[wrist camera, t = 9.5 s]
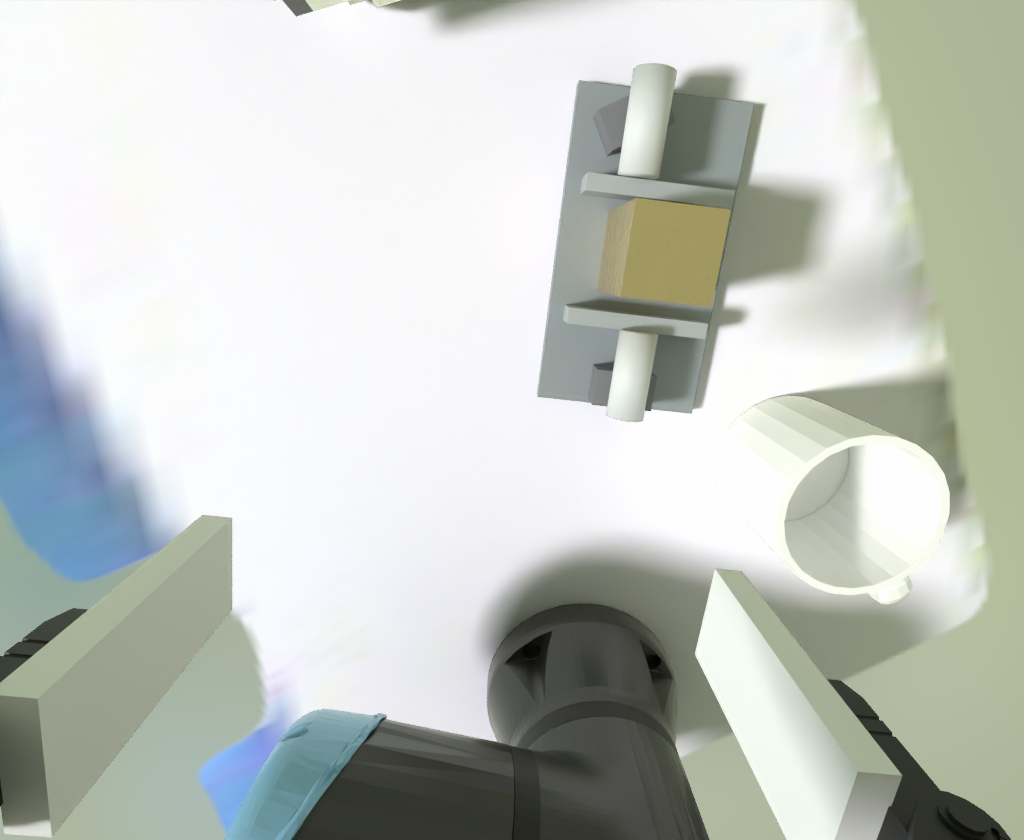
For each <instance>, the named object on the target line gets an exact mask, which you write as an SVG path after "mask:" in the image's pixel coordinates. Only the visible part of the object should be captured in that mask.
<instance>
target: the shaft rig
mask: <svg viewBox="0 0 1024 840" xmlns="http://www.w3.org/2000/svg"><path fill="white" fill-rule="evenodd" d="M676 74H677V71H676V69H675V68H673V67H671V66H668V65H664V64H656V63H648V64H641V65H638V66H636V67H635V68H634V69H633V76H632V83H631V87H625V86H618V85H610V84H603V83H595V82H588V81H580V80H579V82H578V84H577V90H576V98H575V105H574V113H573V121H572V129H571V136H570V144H569V152H568V159H567V167H566V175H565V183H564V190H563V198H562V206H561V214H560V221H559V229H558V237H557V245H556V252H555V260H554V268H553V276H552V283H551V291H550V299H549V307H548V314H547V322H546V330H545V337H544V345H543V353H542V361H541V368H540V376H539V384H538V392H537V395H538V397H545V398H554V399H563V400H572V401H581V402H590V403H591V404H592V405H600V406H607V411H606V415H607V416H609V417H611V418H613V419H617V420H621V421H628V422H640V421H643V417H644V412H645V411H651V409H655V410H664V411H673V412H682V413H691V414H692V409H693V404H694V399H695V394H696V389H697V384H698V379H699V374H700V369H701V364H702V360H703V355H704V350H705V345H706V340H707V335H708V330H709V325H710V320H711V315H712V310H713V305H714V300H715V295H716V290H717V285H718V280H719V275H720V270H721V265H722V260H723V255H724V250H725V245H726V240H727V235H728V231H729V226H730V221H731V216H732V211H733V206H734V201H735V196H736V191H737V186H738V181H739V176H740V171H741V166H742V161H743V156H744V151H745V146H746V141H747V136H748V131H749V126H750V121H751V116H752V111H753V106H754V104H752V103H745V102H737V101H730V100H722V99H715V98H707V97H700V96H692V95H685V94H677V93H673V92H674V86H675V80H676ZM635 198H641V199H649V200H657V201H665V202H673V203H681V204H689V205H697V206H705V207H713V208H721V209H729V210H731V213H730V218H729V223H728V228H727V233H726V238H725V243H724V248H723V253H722V258H721V263H720V268H719V273H718V277H717V282H716V287H715V292H714V297H713V302H712V307H705V306H697V305H688V304H680V303H671V302H663V301H654V300H646V299H637V298H629V297H620V296H617V295H613V294H609V293H606V292H602V291H599V290H597V287H598V280H599V273H600V267H601V260H602V253H603V247H604V240H605V233H606V226H607V220H608V213H609V211H611V210H613V209H615V208H617V207H619V206H621V205H623V204H625V203H627V202H629V201H631V200H633V199H635Z"/></svg>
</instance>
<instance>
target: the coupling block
mask: <svg viewBox="0 0 1024 840" xmlns="http://www.w3.org/2000/svg"><path fill="white" fill-rule="evenodd" d="M730 213H731V210H729V209H721V208H713V207H705V206H697V205H689V204H681V203H673V202H665V201H657V200H649V199H641V198H635V199H633V200H631V201H629V202H627V203H625V204H623V205H621V206H619V207H617V208H615V209H613V210H611V211H609V213H608V220H607V226H606V233H605V240H604V247H603V253H602V260H601V267H600V273H599V280H598V287H597V290H599V291H602V292H606V293H609V294H613V295H617V296H620V297H629V298H637V299H646V300H654V301H663V302H671V303H680V304H688V305H697V306H705V307H712V302H713V297H714V292H715V287H716V282H717V277H718V273H719V268H720V263H721V258H722V253H723V248H724V243H725V238H726V233H727V228H728V223H729V218H730Z"/></svg>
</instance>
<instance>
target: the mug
mask: <svg viewBox="0 0 1024 840" xmlns="http://www.w3.org/2000/svg"><path fill="white" fill-rule="evenodd" d="M715 473H716V481H717V484H718V486H719V489H720V491H721V494H722V496H723V497H724V498H725V499H726V501H727V502H728V503H729V504H730V506H731V507H732V508H733V509H734V510H735V511H736V512H737V513H738V515H739V516H740V517H741V518H742V519H743V520H744V521H745V522H746V523H747V524H748V525H749V526H750V527H751V528H752V529H753V531H754V532H755V533H756V534H757V535H758V536H759V537H760V538H761V539H762V540H763V541H764V542H765V543H766V544H767V545H768V547H769V548H770V549H771V550H772V551H773V552H774V553H775V554H776V555H777V556H778V557H779V558H780V559H781V560H782V561H783V562H784V564H785V565H786V566H787V567H788V568H789V569H790V570H791V571H792V572H793V573H794V574H795V575H796V576H797V577H798V578H800V579H801V580H803V581H804V582H806V583H807V584H809V585H810V586H812V587H813V588H816V589H819V590H822V591H825V592H828V593H831V594H844V595H857V594H864V593H868V594H869V595H870V596H871V597H872V598H873V599H875V600H876V601H878V602H879V603H881V604H893V603H896V602H899V601H901V600H902V599H903V598H905V597H906V596H907V595H908V594H909V592H910V590H911V587H912V583H911V581H910V578H909V576H908V575H909V574H911V573H912V572H914V571H915V570H917V568H918V567H919V566H920V565H921V564H922V563H923V562H924V561H925V560H926V559H927V558H928V557H929V556H930V555H931V554H932V552H933V551H934V549H935V547H936V546H937V544H938V542H939V541H940V539H941V538H942V536H943V534H944V530H945V527H946V524H947V521H948V517H949V514H950V492H949V488H948V485H947V481H946V478H945V474H944V472H943V471H942V469H941V468H940V467H939V465H938V464H937V462H936V461H935V459H934V458H933V457H932V456H931V455H930V454H928V453H927V452H926V451H925V450H923V449H922V448H921V447H919V446H918V445H917V444H915V443H912V442H910V441H908V440H905V439H903V438H901V437H899V436H896V435H894V434H892V433H889V432H887V431H885V430H883V429H880V428H878V427H876V426H873V425H871V424H869V423H867V422H864V421H862V420H860V419H857V418H855V417H853V416H851V415H848V414H846V413H844V412H841V411H839V410H837V409H834V408H832V407H830V406H828V405H825V404H823V403H820V402H818V401H815V400H812V399H810V398H807V397H802V396H790V395H786V396H780V397H775V398H769V399H767V400H764V401H762V402H760V403H758V404H755V405H753V406H751V407H750V408H749V409H747V410H746V411H745V412H743V413H742V414H741V415H739V416H738V417H737V418H736V419H735V420H734V422H733V423H732V424H731V425H730V427H729V428H728V429H727V430H726V431H725V433H724V436H723V438H722V440H721V442H720V444H719V446H718V449H717V455H716V460H715Z"/></svg>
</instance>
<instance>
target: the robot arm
mask: <svg viewBox="0 0 1024 840" xmlns="http://www.w3.org/2000/svg"><path fill="white" fill-rule="evenodd" d="M231 610H232V518H228V517H218V516H208V515H202V516H201V517H200V518H198V519H197V520H196V521H195V522H194V523H192V524H191V525H190V526H189V527H188V528H186V529H185V530H184V531H183V532H181V533H180V534H179V535H178V536H177V537H175V538H174V539H173V540H172V541H171V542H169V543H168V544H167V545H166V546H165V547H163V548H162V549H161V550H160V551H159V552H157V553H156V554H155V555H154V556H153V557H151V558H150V559H149V560H148V561H146V562H145V563H144V564H143V565H142V566H140V567H139V568H138V569H137V570H136V571H135V572H133V573H132V574H131V575H130V576H128V577H127V578H126V579H125V580H124V581H122V582H121V583H120V584H119V585H118V586H116V587H115V588H114V589H113V590H111V591H110V592H109V593H108V594H107V595H105V596H104V597H103V598H102V599H101V600H99V601H98V602H97V603H96V604H95V605H93V606H92V607H91V608H90V609H89V610H86V609H75V608H73V609H71V610H68V611H66V612H64V613H62V614H60V615H58V616H56V617H54V618H51V619H49V620H48V621H45V622H44V623H42V624H41V625H40V626H38V627H37V628H36V629H35V630H33V631H32V632H31V633H29V634H28V635H27V636H26V637H24V638H23V641H22V642H18V643H16V644H15V645H14V646H13V647H11V648H10V649H9V650H7V651H6V652H5V654H4V656H0V806H1V810H2V819H3V827H4V833H5V834H15V835H27V836H40V837H52V836H53V835H54V834H55V833H56V832H57V830H58V829H59V828H60V826H61V825H62V824H63V823H64V821H65V820H66V819H67V818H68V816H69V815H70V814H71V813H72V811H73V810H74V809H75V807H76V806H77V805H78V803H79V802H80V801H81V800H82V798H83V797H84V796H85V795H86V794H87V792H88V791H89V790H90V789H91V787H92V786H93V785H94V783H95V782H96V781H97V780H98V778H99V777H100V776H101V775H102V773H103V772H104V771H105V769H106V768H107V767H108V766H109V764H110V763H111V762H112V761H113V759H114V758H115V757H116V756H117V754H118V753H119V752H120V750H121V749H122V748H123V747H124V745H125V744H126V743H127V742H128V740H129V739H130V738H131V737H132V735H133V734H134V733H135V732H136V730H137V729H138V728H139V726H140V725H141V724H142V723H143V721H144V720H145V719H146V718H147V716H148V715H149V714H150V713H151V711H152V710H153V709H154V707H155V706H156V705H157V703H158V702H159V701H160V700H161V699H162V697H163V696H164V695H165V693H166V692H167V691H168V690H169V688H170V687H171V686H172V685H173V683H174V682H175V681H176V680H177V678H178V677H179V676H180V675H181V673H182V672H183V671H184V669H185V668H186V667H187V666H188V664H189V663H190V662H191V661H192V659H193V658H194V657H195V655H196V654H197V653H198V652H199V650H200V649H201V648H202V647H203V645H204V644H205V643H206V641H207V640H208V639H209V638H210V636H211V635H212V634H213V633H214V631H215V630H216V629H217V628H218V626H219V625H220V624H221V623H222V621H223V620H224V619H225V617H226V616H227V615H228V614H229V612H230V611H231ZM695 656H696V658H697V660H698V662H699V664H700V666H701V668H702V670H703V672H704V674H705V676H706V678H707V680H708V682H709V684H710V686H711V688H712V690H713V692H714V694H715V696H716V698H717V700H718V702H719V704H720V706H721V708H722V710H723V712H724V714H725V716H726V718H727V720H728V722H729V724H730V726H731V728H732V730H733V732H734V734H735V736H736V738H737V740H738V742H739V744H740V746H741V748H742V750H743V752H744V754H745V756H746V758H747V761H748V763H749V765H750V767H751V769H752V770H753V773H754V775H755V777H756V779H757V781H758V782H759V785H760V787H761V789H762V790H763V793H764V795H765V797H766V799H767V801H768V803H769V805H770V807H771V809H772V811H773V813H774V815H775V817H776V819H777V821H778V823H779V825H780V827H781V829H782V831H783V833H784V835H785V837H786V839H787V840H1011V839H1010V837H1009V836H1008V835H1007V834H1006V832H1005V831H1004V830H1003V828H1002V827H1001V826H1000V825H999V824H998V823H997V822H996V821H995V820H994V819H993V818H991V817H990V816H989V815H988V814H987V813H986V812H985V811H983V810H982V809H980V808H978V807H977V806H975V805H974V804H972V803H970V802H969V801H967V800H965V799H963V798H961V797H959V796H956V795H954V794H951V793H949V792H944V791H940V790H939V789H938V787H937V786H936V785H935V784H934V782H933V781H932V780H931V779H930V778H929V776H928V775H927V774H926V773H925V772H924V770H923V769H922V768H921V767H920V766H919V764H918V763H917V762H916V761H915V760H914V758H913V757H912V756H911V755H910V754H909V752H908V751H907V750H906V749H905V748H904V746H903V745H902V744H901V743H900V742H899V741H898V739H897V738H896V737H893V736H892V732H891V731H890V730H889V728H888V727H887V726H886V725H885V724H884V722H883V721H880V720H879V717H878V715H877V714H876V713H875V712H874V711H873V709H872V708H871V707H870V706H869V705H868V703H867V702H866V701H865V700H864V699H863V698H862V697H861V696H860V695H858V694H857V693H856V692H854V691H853V690H852V689H851V688H849V687H848V686H847V685H845V684H844V683H843V682H842V681H839V680H829V679H826V678H825V676H824V675H823V674H822V673H821V671H820V670H819V669H818V667H817V666H816V665H815V664H814V662H813V661H812V660H811V659H810V657H809V656H808V655H807V653H806V652H805V651H804V650H803V648H802V647H801V646H800V645H799V643H798V642H797V641H796V639H795V638H794V637H793V636H792V634H791V633H790V632H789V631H788V629H787V628H786V627H785V625H784V624H783V623H782V622H781V620H780V619H779V618H778V617H777V615H776V614H775V613H774V611H773V610H772V609H771V608H770V606H769V605H768V604H767V603H766V601H765V600H764V599H763V597H762V596H761V595H760V594H759V592H758V591H757V590H756V589H755V587H754V586H753V585H752V583H751V582H750V581H749V580H748V578H747V577H746V576H745V574H744V573H743V572H742V571H733V570H724V569H715V571H714V575H713V579H712V584H711V588H710V592H709V596H708V600H707V605H706V609H705V613H704V617H703V622H702V626H701V630H700V634H699V639H698V643H697V647H696V651H695ZM487 709H488V715H489V720H490V724H491V727H492V729H493V732H494V734H495V737H496V739H497V742H494V741H489V740H484V739H479V738H474V737H469V736H464V735H459V734H454V733H449V732H445V731H440V730H435V729H430V728H425V727H420V726H415V725H410V724H405V723H400V722H396V721H391V720H387V719H386V715H385V714H381V713H378V714H376V715H375V716H371V715H364V714H358V713H351V712H344V711H338V710H331V709H321V710H316V711H312V712H310V713H308V714H306V715H304V716H303V717H301V718H300V719H299V720H297V721H296V722H295V723H294V724H293V725H292V726H291V727H290V728H289V729H288V730H287V731H286V733H285V734H284V735H283V737H282V738H281V739H280V741H279V742H278V743H277V745H276V746H275V748H274V749H273V751H272V752H271V754H270V756H269V757H268V759H267V760H266V762H265V764H264V765H263V767H262V769H261V770H260V772H259V774H258V776H257V777H256V779H255V781H254V783H253V785H252V786H251V788H250V790H249V792H248V794H247V796H246V797H245V799H244V801H243V803H242V805H241V807H240V809H239V811H238V813H237V815H236V817H235V819H234V821H233V823H232V825H231V827H230V829H229V831H228V833H227V835H226V837H225V839H224V840H709V837H708V835H707V832H706V829H705V826H704V823H703V821H702V818H701V815H700V812H699V810H698V807H697V804H696V801H695V799H694V796H693V793H692V790H691V788H690V785H689V782H688V779H687V777H686V774H685V771H684V768H683V766H682V763H681V761H680V758H679V755H678V752H677V749H676V746H675V742H676V713H677V690H676V684H675V678H674V675H673V672H672V669H671V666H670V664H669V662H668V659H667V657H666V654H665V652H664V650H663V648H662V646H661V644H660V643H659V641H658V640H657V638H656V637H655V636H654V635H653V633H652V632H651V631H650V630H649V629H648V628H647V627H646V626H644V625H643V624H642V623H641V622H639V621H638V620H636V619H635V618H633V617H631V616H629V615H628V614H626V613H623V612H621V611H618V610H615V609H612V608H609V607H605V606H599V605H590V604H575V605H566V606H561V607H556V608H553V609H549V610H546V611H544V612H541V613H539V614H537V615H535V616H533V617H531V618H529V619H528V620H526V621H524V622H523V623H521V624H520V625H519V626H518V627H516V628H515V629H514V630H513V631H512V632H511V633H510V634H509V635H508V636H507V637H506V638H505V639H504V641H503V642H502V643H501V645H500V646H499V648H498V649H497V651H496V653H495V655H494V657H493V659H492V662H491V665H490V669H489V674H488V684H487Z"/></svg>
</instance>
